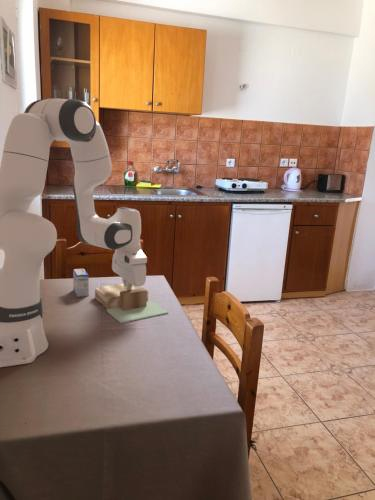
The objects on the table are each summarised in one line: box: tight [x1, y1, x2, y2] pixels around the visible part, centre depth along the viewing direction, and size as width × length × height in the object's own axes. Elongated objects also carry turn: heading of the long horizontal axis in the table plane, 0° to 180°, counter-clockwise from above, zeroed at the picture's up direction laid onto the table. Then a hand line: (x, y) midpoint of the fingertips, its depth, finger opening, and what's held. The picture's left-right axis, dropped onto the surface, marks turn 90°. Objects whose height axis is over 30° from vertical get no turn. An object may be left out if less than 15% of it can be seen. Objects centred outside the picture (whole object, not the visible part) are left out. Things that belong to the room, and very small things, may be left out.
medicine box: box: [72, 268, 90, 298], centre depth 158 cm, size 8×4×9 cm, turn 25°
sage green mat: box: [105, 300, 169, 325], centre depth 144 cm, size 18×12×1 cm, turn 123°
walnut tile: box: [120, 287, 148, 311], centre depth 146 cm, size 9×6×3 cm
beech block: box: [94, 282, 149, 309], centre depth 154 cm, size 16×12×4 cm
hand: (127, 290), depth 148 cm, fingers closed
